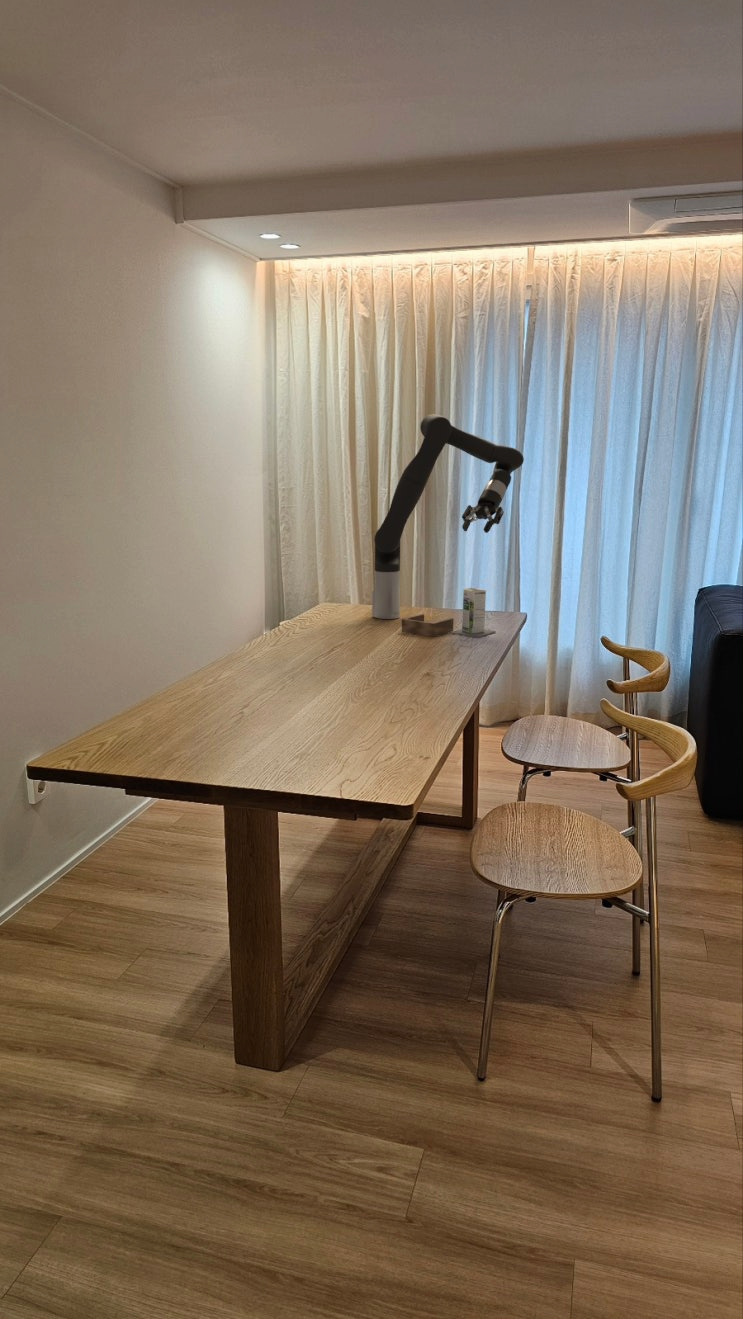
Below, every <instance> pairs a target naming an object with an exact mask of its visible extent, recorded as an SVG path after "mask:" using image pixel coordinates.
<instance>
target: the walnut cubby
mask: <svg viewBox="0 0 743 1319" xmlns="http://www.w3.org/2000/svg"><path fill="white" fill-rule="evenodd" d="M451 631H454V618H453V617H450V618H446V619H442V620H439V621H435V622H428V621H425V613H420V614H417V615H413V616H408V617H405V618H402V619H401V633H404V632H405V633H404V634H410V633H411V635H417V636H423V635H424V636H425V637H429V636H431V638H435V636H436V637H438V635H439V636H442V635H446V634H448V632H449V633H451ZM445 633H446V634H445ZM424 636H423V637H424Z"/></svg>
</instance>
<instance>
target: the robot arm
mask: <svg viewBox="0 0 743 1319" xmlns="http://www.w3.org/2000/svg"><path fill="white" fill-rule="evenodd" d="M419 427H420V433H421V435H422V436H423V440H422V442H421V445H420V447H419V450H418V451H417V453H416V455H415V456H414V457H413V458H412V460H411V461H410V462H408V464H407V466H406V467H405V469H404V470H403V472H402V473H401V476H400V477H399V480H398V483H397V485H396V488H395V491H394V493H393V497H392V499H391V503H390V507H389V509H388V512H387V514H386V516H385V518H384V520H383V521H382V524H381V525H380V527H379V528H378V530H376V532H375V534H374V540H373V541H374V590H372V595H371V596H372V597H371V601H372V602H371V606H372V607H371V611H372V612H371V613H372V614H371V616H372V617H374V618H376V619H380V620H395V619H399V618H400V617H401V616H400V606H401V604H400V603H401V602H400V601H401V599H400V598H401V596H400V595H401V592H400V591H401V590H400V588H401V580H400V579H401V538H402V535H403V532H404V529H405V527H406V524H407V522H408V519H409V518H410V516H411V514H412V513H413V511H414V509H415V508H416V507H417V504H418V502H419V501H420V499H421V497H422V494H423V492H424V490H425V488H426V485H427V483H428V481H429V478H430V477H431V474H432V472H433V469H434V467H435V465H436V463H437V461H438V458H439V456H440V454H441V453H442V451H443V449H444V447H445V445H446V444H447V445H450V446H452V447H454V448H457V449H458V450H460V451H463V452H465V453H466V454H467V455H470V456H472V457H474V458H476V459H479V460H480V461H483V462H485V463H488V464H493V463H495V464H494V468H493V471H492V475H491V476H490V479H489V480H488V481H487V484H486V485H485V486H484V489H483V490H482V493H481V494H480V495H479V498H478V501H477V504H476V505H475V506H472V505H471V504H468V505H467V507H466V509H465V510H464V512H463V514H462V516H461V518H462V521H463V524H462V526H461V527H462V530H463V532H467V531H468V529H469V527H470V526H471V523H473V522H476V521H478V520H487V521H486V523H485V525H484V527H483V531H484V533H485V534H488V533H489V532H490V531H491V529H492V527H493V526H494V525H495V524H496V525H499V524H500V522H501V520H502V517H503V515H504V510H503V507H502V506H500V505H501V504H502V502H503V499H504V498H505V495H506V492H507V490H508V488H509V486H510V484H511V481H512V475H511V474H512V473H513V472H514V471H516V470H517V469H519V468H521V467H522V465H523V464H524V462H525V460H524V455H523V453H522V452H521V451H520V450H518V449H516V448H514V447H511V446H506V445H500V444H496V443H493V441H489V440H487V439H485V438H483V437H480V436H478V435H474V434H471V433H469V432H466V431H465V430H462V429H459V428H457V427H456V426H454V425H452V424H451V422H450V420H449V419H448V418H447V417H445V416H443V415H441V414H436V413H434V414H428V415H426V416H425V417H424V418H423V419H422V420H421V422H420V426H419ZM493 516H494V517H493Z"/></svg>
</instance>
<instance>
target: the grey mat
mask: <svg viewBox="0 0 743 1319" xmlns="http://www.w3.org/2000/svg"><path fill="white" fill-rule="evenodd" d="M496 632H497V631H496V630H490V629H484V632H480V633H472V634H470V633H468V632H465V631H462V628H461V629H457V630H453V632H450V634H451V633H452V634H451V635H455V634H459V635H458V636H462V635H465V636H464V637H469V636H471V637H470V638H475V637H477V639H480V638H483V637H486V635H487V636H489V634H490V635H492V634H495V633H496ZM479 637H480V638H479Z"/></svg>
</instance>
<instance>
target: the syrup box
mask: <svg viewBox="0 0 743 1319" xmlns="http://www.w3.org/2000/svg"><path fill="white" fill-rule="evenodd" d="M486 592H487V590H485V589H481V588H477V587H468V588H467V587H466V588H463V594H462V621H461V629H462V631H465V632H468V633H470V634H472V633H480V632H484V630H485V625H486V624H485V622H486V621H485V620H486V598H487V597H486V596H487V593H486Z"/></svg>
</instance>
